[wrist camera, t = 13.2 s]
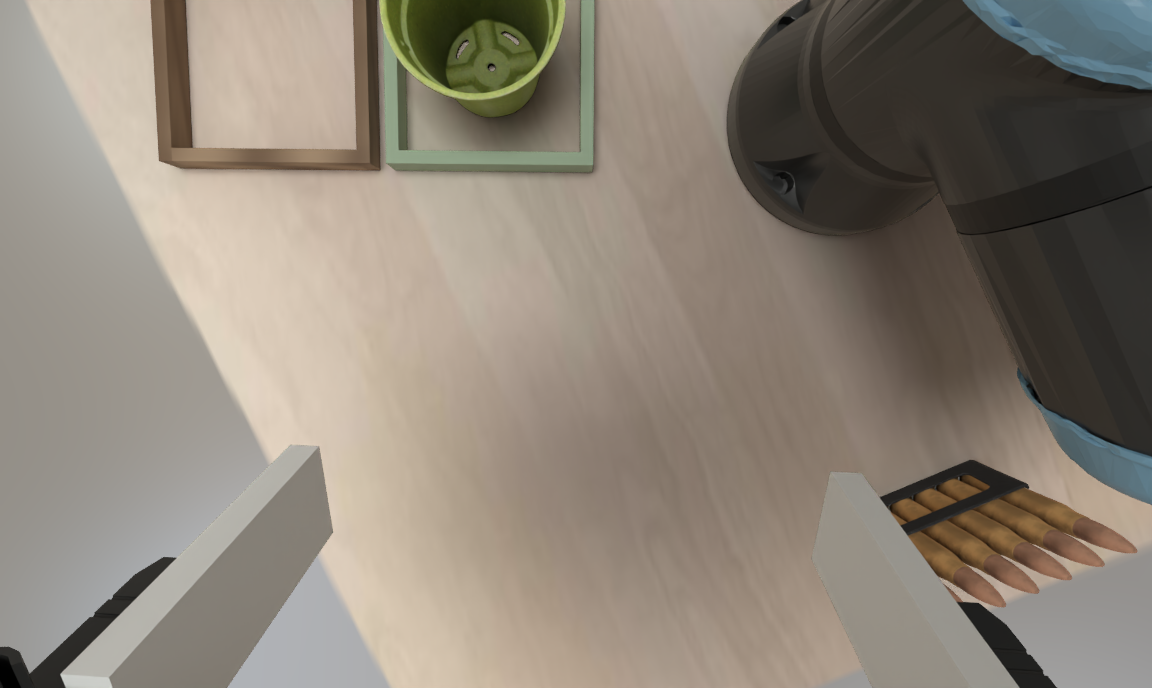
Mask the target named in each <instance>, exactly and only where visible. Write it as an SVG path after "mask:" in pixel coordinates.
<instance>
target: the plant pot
mask: <svg viewBox="0 0 1152 688" xmlns="http://www.w3.org/2000/svg"><path fill="white" fill-rule="evenodd" d="M379 6H380V15H381V21H382V25H383V28H384V32H385V35H386V37H387V40H388V42H389V44H390V46H391V48H392V50H393V52H394V53H395V55H396V57H397V58H398V59H399V61H400V62H401V63H402V65H403V66H404V67H405V68H406V69H407V70H408V71H409V72H410V73H411V74H412V75H413V76H414V77H415V78H416V79H417V80H419V81H420V82H421V83H423V84H424V85H425V86H427V87H429V88H430V89H432V90H434V91H436V92H438V93H440V94H443V95H445V96H448V97H451V98H455V99H456V100H457V101H458V102H459V103H460V104H461V105H462V106H463V107H464V108H466V109H467V110H469V111H471V112H473V113H475V114H477V115H480V116H484V117H499V116H504V115H508V114H512V113H514V112H516V111H517V110H519V109H520V108H522V107H523V106H524V105H525V104H526V103H527V102H528V101H529V99H530V98H531V97H532V95H533V93H534V91H535V89H536V86H537V83H538V79H539V75H540V72H541V71H542V70H543V69H544V68H545V66H546V65H547V64H548V62H549V61H550V59H551V57H552V56H553V54H554V52H555V49H556V47H557V45H558V42H559V40H560V36H561V33H562V29H563V25H564V20H565V10H566V0H379ZM504 31H506V32H508V33H510V34H512V35H513V36H515V37H516V38H517V39H518V40H519V45H516V44H515V43H514V42H512V41H511V40H510V39H509V38H507V37H506V36H504V35H502V34H501V33H502V32H504ZM465 40H468V41H469V44H468V45H467V46H466V48H465V49H464V50H463V52H462V53H461V55H460V56H459V58H458V59H457V57H456V54H457V50H458V48H459V46H460V45H461V43H462V42H463V41H465ZM491 63H492V64H494V65H495V67H496V68H495V70H494V71H490V70H488V65H489V64H491Z"/></svg>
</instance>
